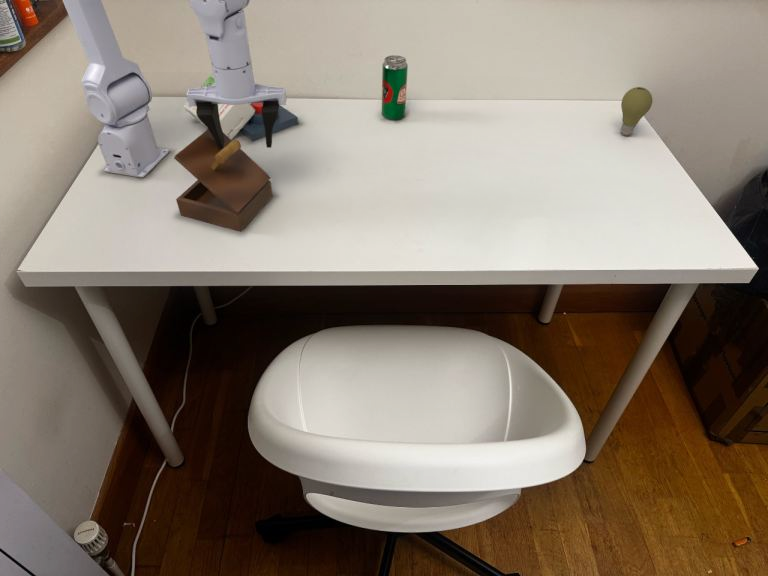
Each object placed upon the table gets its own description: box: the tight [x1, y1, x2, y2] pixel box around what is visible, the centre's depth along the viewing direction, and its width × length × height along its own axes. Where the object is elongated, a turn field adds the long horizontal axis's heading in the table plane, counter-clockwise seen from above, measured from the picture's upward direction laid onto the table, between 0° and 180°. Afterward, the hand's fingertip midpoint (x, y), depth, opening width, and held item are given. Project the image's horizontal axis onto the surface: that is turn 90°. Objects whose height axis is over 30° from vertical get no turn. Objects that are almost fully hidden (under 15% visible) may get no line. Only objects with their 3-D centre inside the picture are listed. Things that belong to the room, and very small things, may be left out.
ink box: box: [183, 76, 255, 140], centre depth 113 cm, size 8×5×12 cm
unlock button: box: [252, 103, 263, 114], centre depth 114 cm, size 4×4×2 cm
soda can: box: [381, 54, 409, 121], centre depth 116 cm, size 5×5×12 cm
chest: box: [175, 179, 274, 233], centre depth 95 cm, size 12×11×3 cm
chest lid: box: [173, 128, 272, 214], centre depth 89 cm, size 12×11×5 cm
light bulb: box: [620, 86, 653, 137], centre depth 113 cm, size 6×6×10 cm
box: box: [238, 103, 299, 142], centre depth 116 cm, size 11×9×4 cm
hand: (245, 145), depth 91 cm, fingers open, 7 cm apart
